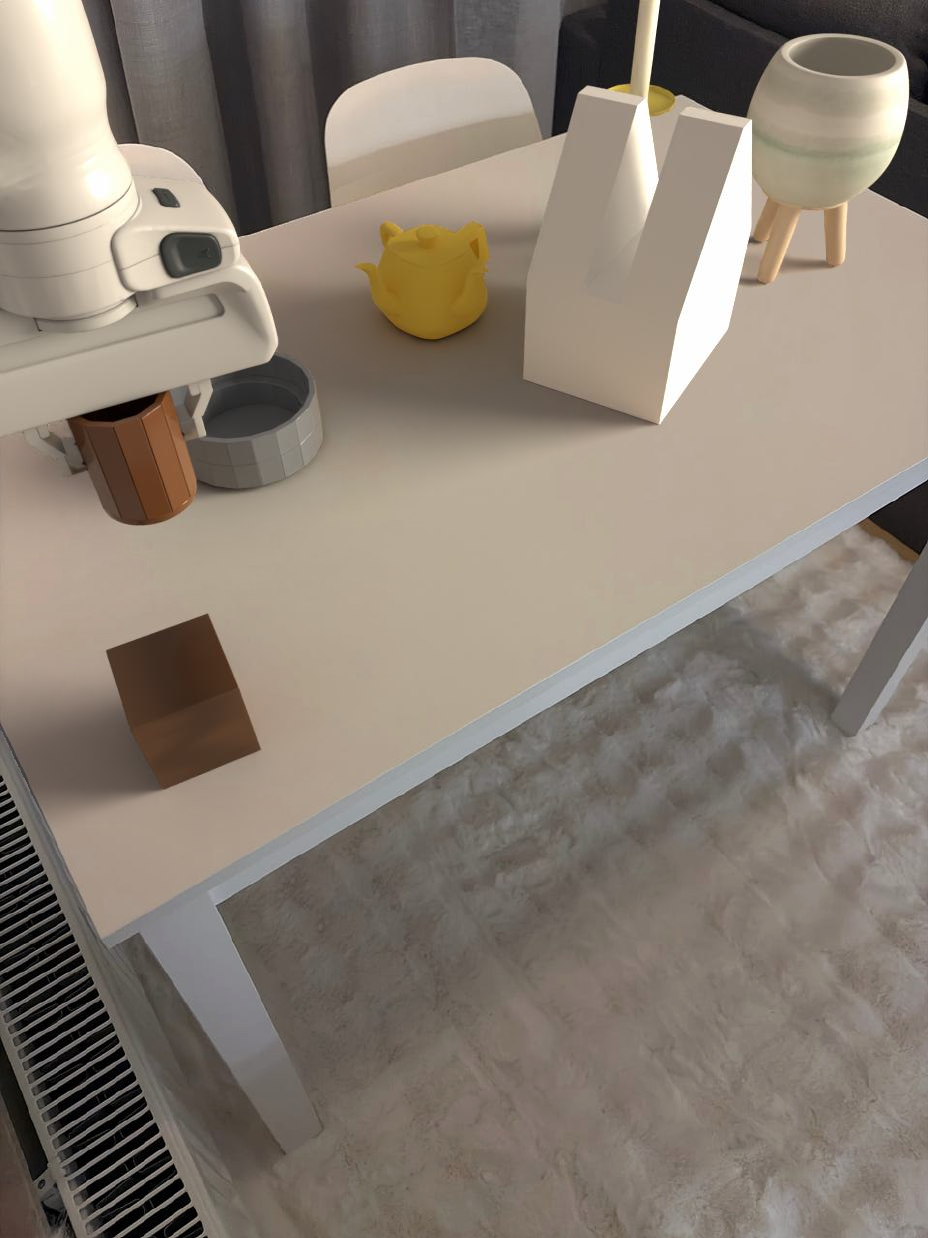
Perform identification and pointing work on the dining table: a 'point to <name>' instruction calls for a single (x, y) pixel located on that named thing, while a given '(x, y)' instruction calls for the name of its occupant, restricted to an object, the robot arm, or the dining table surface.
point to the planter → (823, 134)
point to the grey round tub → (257, 425)
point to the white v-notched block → (637, 254)
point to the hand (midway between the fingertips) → (135, 451)
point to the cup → (137, 459)
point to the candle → (647, 62)
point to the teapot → (430, 278)
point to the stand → (182, 701)
